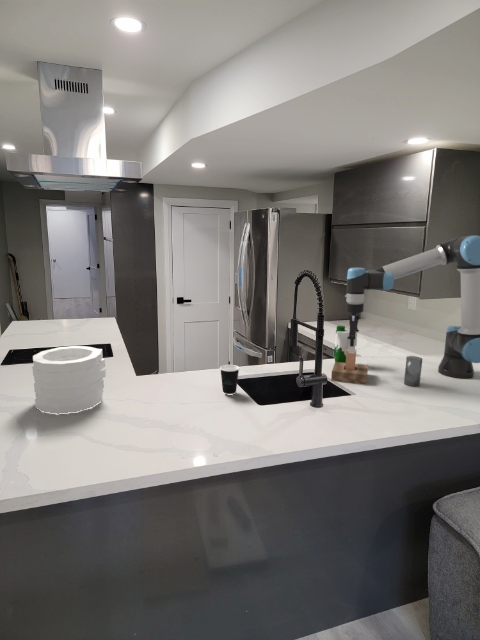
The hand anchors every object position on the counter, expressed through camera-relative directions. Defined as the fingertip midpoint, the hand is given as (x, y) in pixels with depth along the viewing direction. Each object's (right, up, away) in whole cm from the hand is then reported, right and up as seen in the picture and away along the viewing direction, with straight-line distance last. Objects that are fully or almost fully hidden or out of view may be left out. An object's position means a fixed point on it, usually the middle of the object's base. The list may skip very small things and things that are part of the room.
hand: (352, 349), depth 186 cm
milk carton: (+1, -10, +20) cm, 23 cm away
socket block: (-1, -13, +3) cm, 13 cm away
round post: (+25, -15, -5) cm, 29 cm away
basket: (-115, -18, -30) cm, 120 cm away
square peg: (-1, -13, +3) cm, 13 cm away
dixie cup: (-55, -17, -19) cm, 61 cm away
